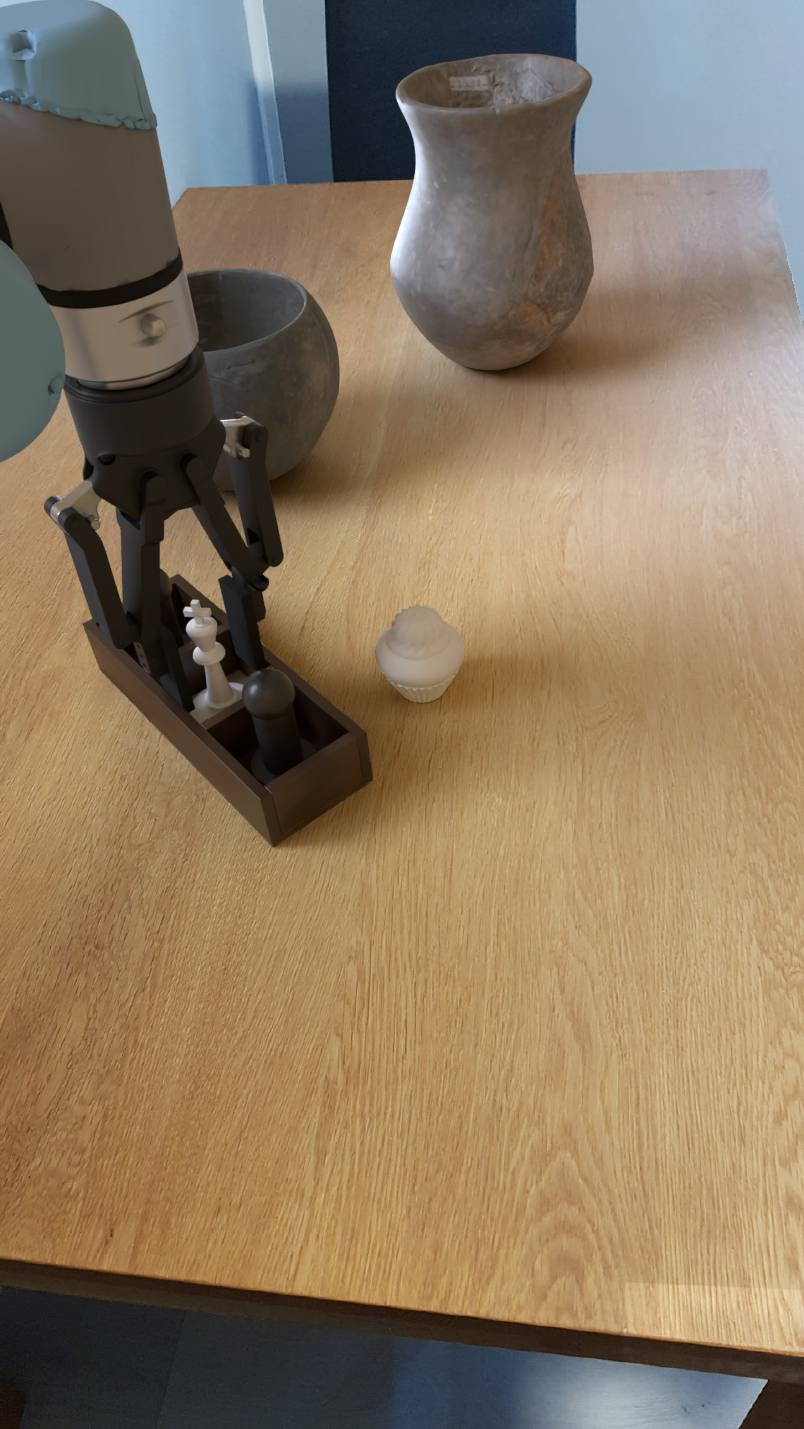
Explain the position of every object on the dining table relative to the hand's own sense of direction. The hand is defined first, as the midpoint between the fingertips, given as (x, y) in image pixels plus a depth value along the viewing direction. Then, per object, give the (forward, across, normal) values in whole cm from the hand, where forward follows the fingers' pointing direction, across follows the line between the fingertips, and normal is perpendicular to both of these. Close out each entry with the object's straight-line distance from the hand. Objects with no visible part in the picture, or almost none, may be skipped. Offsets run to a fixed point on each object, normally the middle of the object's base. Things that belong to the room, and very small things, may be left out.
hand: (216, 680), depth 72 cm
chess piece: (+3, 0, 0) cm, 3 cm away
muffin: (+4, +12, -7) cm, 15 cm away
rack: (+4, 0, 0) cm, 4 cm away
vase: (+4, +49, +25) cm, 55 cm away
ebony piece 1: (+3, 0, +7) cm, 8 cm away
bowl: (+4, +19, +27) cm, 33 cm away
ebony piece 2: (+3, 0, -7) cm, 8 cm away
